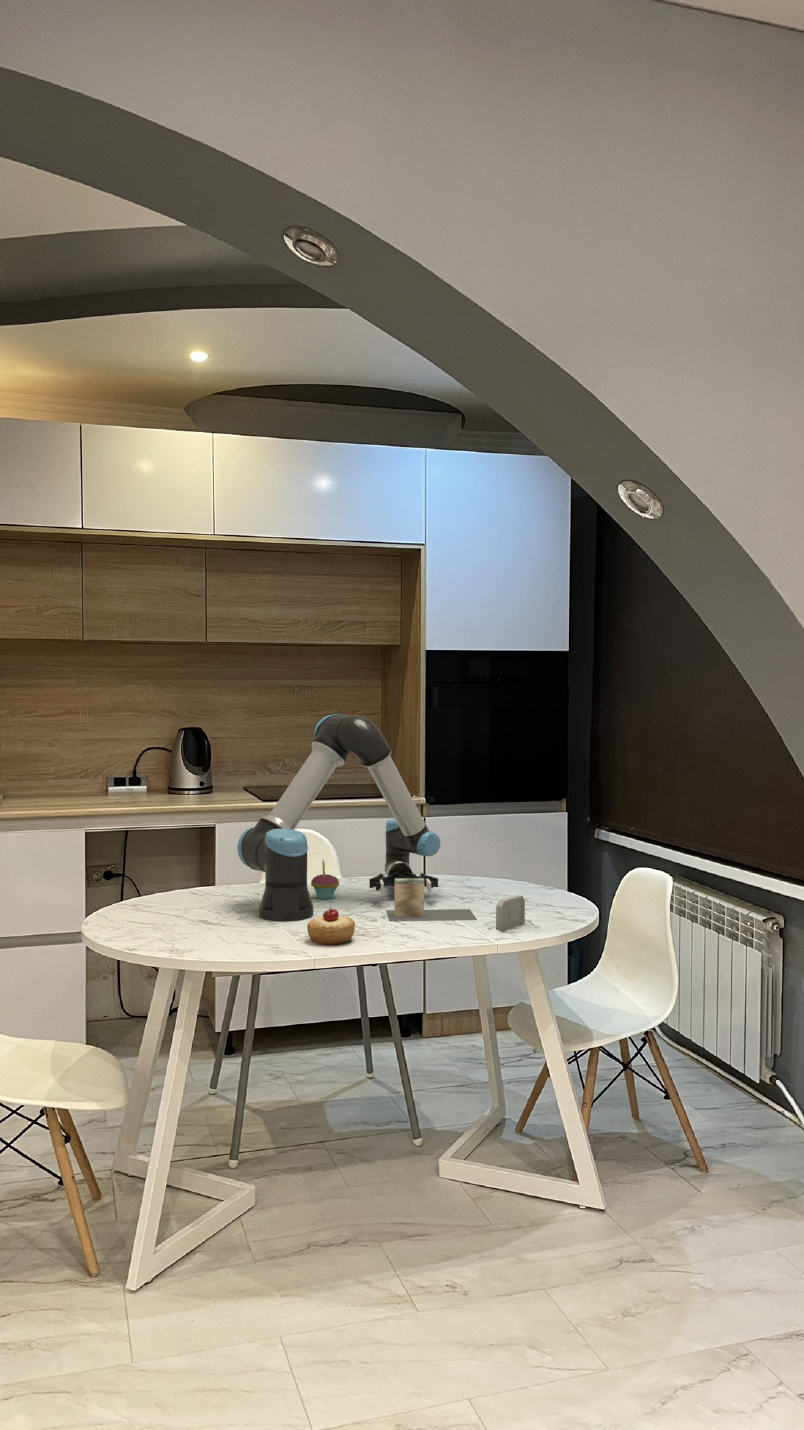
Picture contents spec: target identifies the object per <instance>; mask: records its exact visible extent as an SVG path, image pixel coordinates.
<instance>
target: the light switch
mask: <svg viewBox="0 0 804 1430" xmlns="http://www.w3.org/2000/svg"><path fill="white" fill-rule="evenodd" d="M525 922H526V899H525V897H524V896H523V895H522V894H521V895H519V894H515V895H512V896H508V897H506V898H503V899H499V900H498V902H497V904H496V906H495V931H496V930H499V931H498V932H504V931H505V930H506V928H508V929H510V927H511V928H513V927H516V926H519V925H524V924H526V923H525ZM512 926H513V927H512ZM504 929H505V930H504ZM503 930H504V931H503Z"/></svg>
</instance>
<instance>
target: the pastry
mask: <svg viewBox="0 0 804 1430" xmlns="http://www.w3.org/2000/svg"><path fill="white" fill-rule="evenodd" d="M306 928H307V934H308V937H309V939H310V940H311V942H313V943H314V942H315V943H314V944H317V943H318V944H317V945H324V946H325V945H328V946H330V945H342V944H344V943H348V942H349V941H351V939H352V938H353V936H354V933H355V928H356V922H355V920H354V919H353V918H351V917H349V916H344V915H342V916H340V913H339V911H338V910H337V909H334V908H332V907H331V906H330V907H329V909H327V910H325V911H324V912H323V914H322V915H320V916H317V917H315V918H313V919H310V920H309V921H308V923H307V925H306Z"/></svg>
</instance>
